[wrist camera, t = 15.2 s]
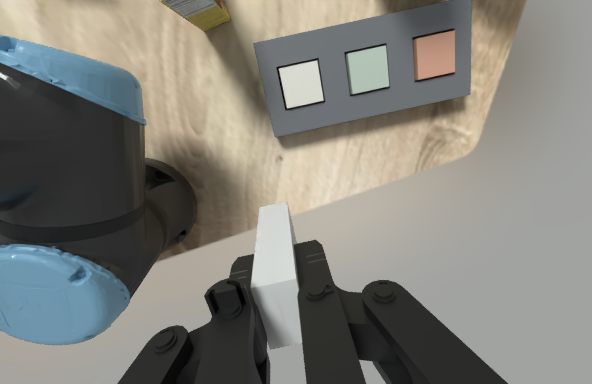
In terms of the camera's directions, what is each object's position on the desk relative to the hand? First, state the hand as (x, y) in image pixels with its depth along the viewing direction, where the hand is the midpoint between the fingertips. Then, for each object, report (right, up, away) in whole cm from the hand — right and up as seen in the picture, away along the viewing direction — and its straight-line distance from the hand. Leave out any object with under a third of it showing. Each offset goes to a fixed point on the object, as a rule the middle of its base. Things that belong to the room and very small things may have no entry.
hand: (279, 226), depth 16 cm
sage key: (+10, +19, +25) cm, 33 cm away
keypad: (+10, +19, +25) cm, 33 cm away
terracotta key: (+19, +21, +25) cm, 38 cm away
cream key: (+1, +17, +25) cm, 30 cm away
